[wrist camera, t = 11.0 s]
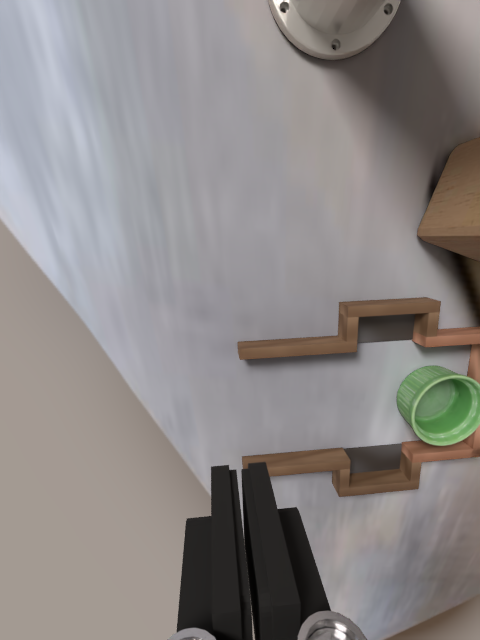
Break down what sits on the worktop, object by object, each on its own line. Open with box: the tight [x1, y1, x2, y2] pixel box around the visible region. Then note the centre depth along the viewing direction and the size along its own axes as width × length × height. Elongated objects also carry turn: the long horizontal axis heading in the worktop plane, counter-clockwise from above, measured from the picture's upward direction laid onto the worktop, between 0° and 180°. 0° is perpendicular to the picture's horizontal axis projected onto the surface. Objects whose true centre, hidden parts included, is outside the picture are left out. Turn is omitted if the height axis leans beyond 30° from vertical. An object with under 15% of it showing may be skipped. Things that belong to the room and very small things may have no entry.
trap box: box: [238, 297, 480, 497], centre depth 39 cm, size 24×30×2 cm
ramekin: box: [397, 366, 480, 446], centre depth 39 cm, size 9×9×4 cm
